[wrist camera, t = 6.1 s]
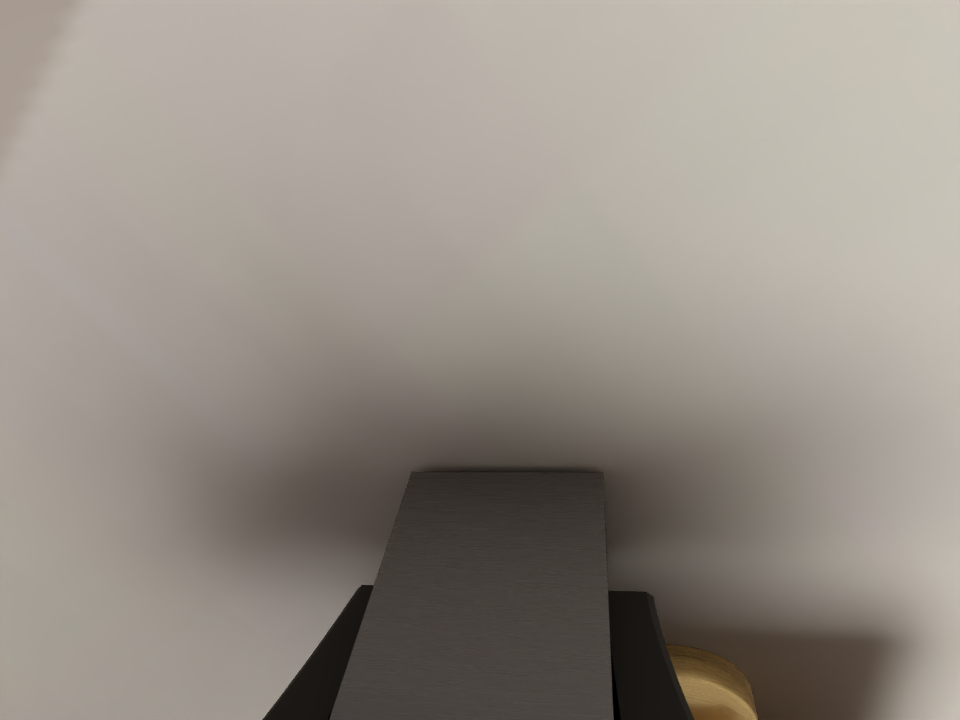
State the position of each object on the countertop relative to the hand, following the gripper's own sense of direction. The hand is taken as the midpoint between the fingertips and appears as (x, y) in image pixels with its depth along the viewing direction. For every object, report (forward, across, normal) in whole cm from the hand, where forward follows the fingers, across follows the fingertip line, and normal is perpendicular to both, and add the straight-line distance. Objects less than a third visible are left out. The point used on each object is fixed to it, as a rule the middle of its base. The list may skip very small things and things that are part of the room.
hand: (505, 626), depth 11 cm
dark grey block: (+2, 0, +2) cm, 3 cm away
